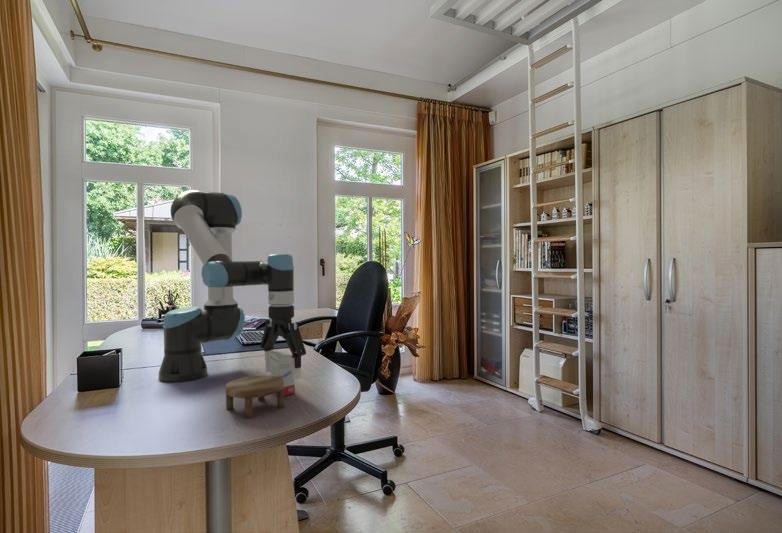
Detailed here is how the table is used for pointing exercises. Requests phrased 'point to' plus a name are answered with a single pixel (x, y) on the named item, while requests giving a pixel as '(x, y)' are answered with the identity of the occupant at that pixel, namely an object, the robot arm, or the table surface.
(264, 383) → the footstool
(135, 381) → the table surface
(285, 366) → the ink box
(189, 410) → the table surface
